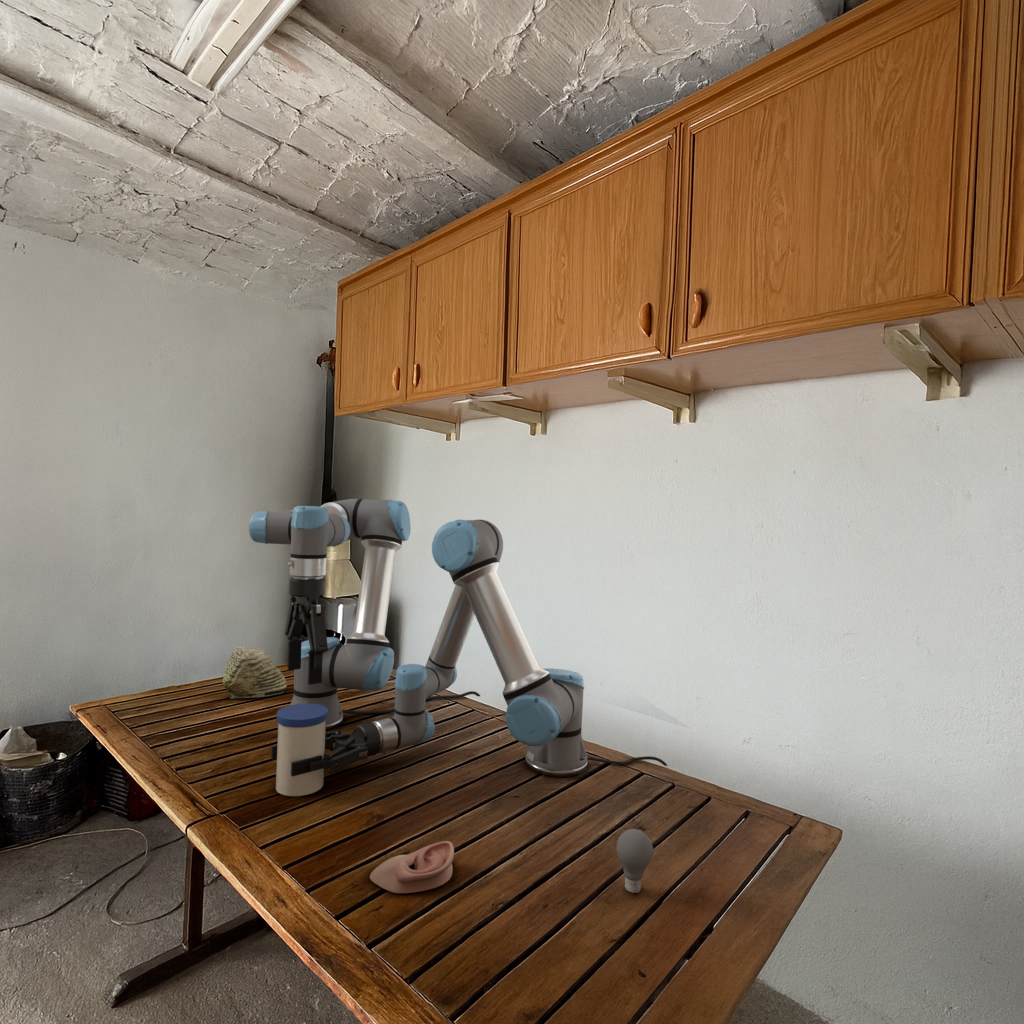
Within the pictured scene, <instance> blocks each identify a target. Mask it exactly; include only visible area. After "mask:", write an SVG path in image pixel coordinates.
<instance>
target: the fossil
mask: <svg viewBox="0 0 1024 1024" xmlns="http://www.w3.org/2000/svg"><path fill="white" fill-rule="evenodd" d="M222 676H223V677H222V685H223V687H224V688H225V690H226V691H228V693H229V698H230V699H250V698H264V697H271V696H275V695H281V694H284V693H285V691H286V689H287V687H288V686H287V680H286V678H285V676H284V674H283V673H282V672H281V669H279V668H278V667H277V665H276V663H275V662H274V660H273V659H272V658H271V657H270V656H269V655H268V654H267V653H266V652H265V650H264V649H263V648H260V647H258V648H251V647H247V646H246V647H245V646H238V647H237V648H236V649H235V650H233V651H232V653H231V656H230V657H229V659H228V660H227V663H226V666H225V668H224V671H223V675H222Z"/></svg>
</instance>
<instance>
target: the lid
mask: <svg viewBox="0 0 1024 1024" xmlns="http://www.w3.org/2000/svg"><path fill="white" fill-rule="evenodd" d="M327 718H328V709H327V708H326V707H325V706H322V705H318V704H295V705H290V704H289V705H287V706H283V707H281V708H279V709H278V710H277V712H276V723H277V724H278V723H279V724H280V725H283V726H288V727H307V726H313V725H317V724H320V723H322V722H324V721H326V720H327Z"/></svg>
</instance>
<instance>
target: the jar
mask: <svg viewBox="0 0 1024 1024" xmlns="http://www.w3.org/2000/svg"><path fill="white" fill-rule="evenodd" d="M326 732H327V730H326V721H324V722H322V723H320V724H317V725H313V726H307V727H288V726H283V725H280V724H279V723H278V722H277V743H276V745H277V759H276V769H275V770H276V771H275V774H276V775H275V790H276V791H275V792H277V793H278V794H280V795H283V796H287V797H302V796H307V795H311V794H314V793H316V792H318V791H320V790H321V789H322V788H323V787H324V781H325V780H324V779H325V769H323V768H322V769H319V770H315V771H312V772H308V773H304V774H300V775H297V776H293V777H292V776H291V762H295V761H299V760H303V759H307V758H311V757H315V756H319V755H321V756H322V759H324V753H326V749H325V733H326Z"/></svg>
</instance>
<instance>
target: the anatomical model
mask: <svg viewBox="0 0 1024 1024" xmlns="http://www.w3.org/2000/svg"><path fill="white" fill-rule="evenodd" d="M454 856H455V847H454V844H453V843H452V842H451V841H450V840H444V841H438V842H434V843H432V844H429V845H426V846H424V847H422V848H420V849H417V850H415V851H413V852H410V853H409V854H400V855H395V856H392V857H390V858H388V859H387V860H385V861H383V862H381V864H379V865H378V866H376V867H375V868H374V869H373V870H372V871H371V873H370V875H369V879H370V881H371V882H372V883H374V884H375V885H377V886H378V887H379V888H381V889H383V890H385V891H387V892H390V893H393V894H411V893H418V892H424V891H429V890H432V889H435V888H438V887H441V886H443V885H444V884H446V883H447V882H448V881H450V879H451V878H452V876H453V870H454V869H453V868H454V867H453V864H452V863H453V860H454V858H455V857H454Z"/></svg>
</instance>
